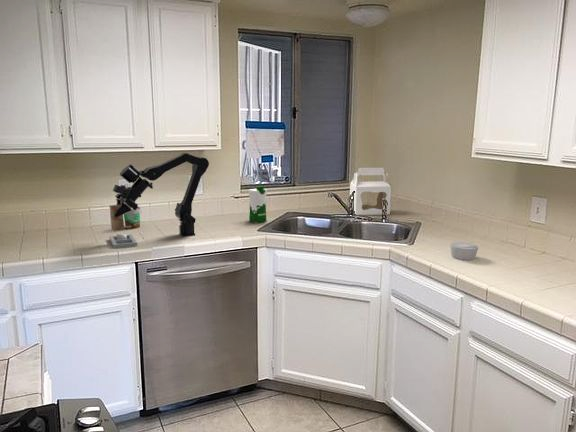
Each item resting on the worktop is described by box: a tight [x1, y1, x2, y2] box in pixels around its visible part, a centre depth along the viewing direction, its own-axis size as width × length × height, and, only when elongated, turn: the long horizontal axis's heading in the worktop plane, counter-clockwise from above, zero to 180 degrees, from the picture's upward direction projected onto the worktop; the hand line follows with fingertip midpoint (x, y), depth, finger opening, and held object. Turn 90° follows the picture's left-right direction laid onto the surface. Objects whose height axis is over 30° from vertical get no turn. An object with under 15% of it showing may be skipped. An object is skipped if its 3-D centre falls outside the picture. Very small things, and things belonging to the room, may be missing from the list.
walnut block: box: [109, 204, 125, 232], centre depth 222 cm, size 4×4×11 cm
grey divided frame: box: [109, 233, 138, 249], centre depth 224 cm, size 10×18×3 cm, turn 25°
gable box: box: [349, 167, 392, 216], centre depth 300 cm, size 22×13×28 cm, turn 100°
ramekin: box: [449, 241, 479, 261], centre depth 205 cm, size 11×11×5 cm
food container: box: [123, 206, 142, 230], centre depth 256 cm, size 12×6×10 cm, turn 168°
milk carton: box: [247, 185, 268, 223], centre depth 273 cm, size 9×9×20 cm
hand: (113, 215), depth 221 cm, fingers closed on walnut block, 4 cm apart
